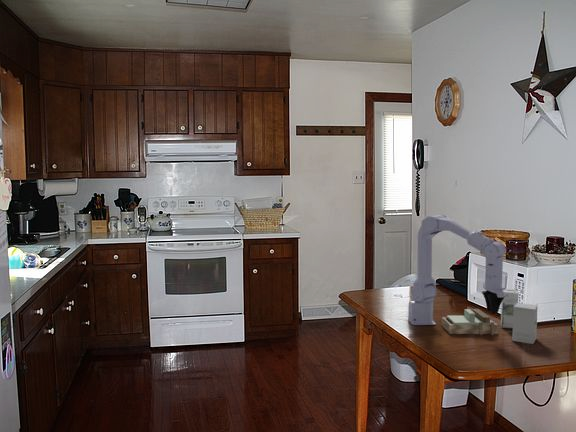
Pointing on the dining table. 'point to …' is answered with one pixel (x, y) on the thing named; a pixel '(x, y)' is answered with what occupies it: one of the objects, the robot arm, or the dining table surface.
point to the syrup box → (508, 307)
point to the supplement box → (524, 323)
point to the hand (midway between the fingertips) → (492, 312)
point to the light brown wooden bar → (481, 316)
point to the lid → (466, 319)
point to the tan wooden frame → (469, 328)
